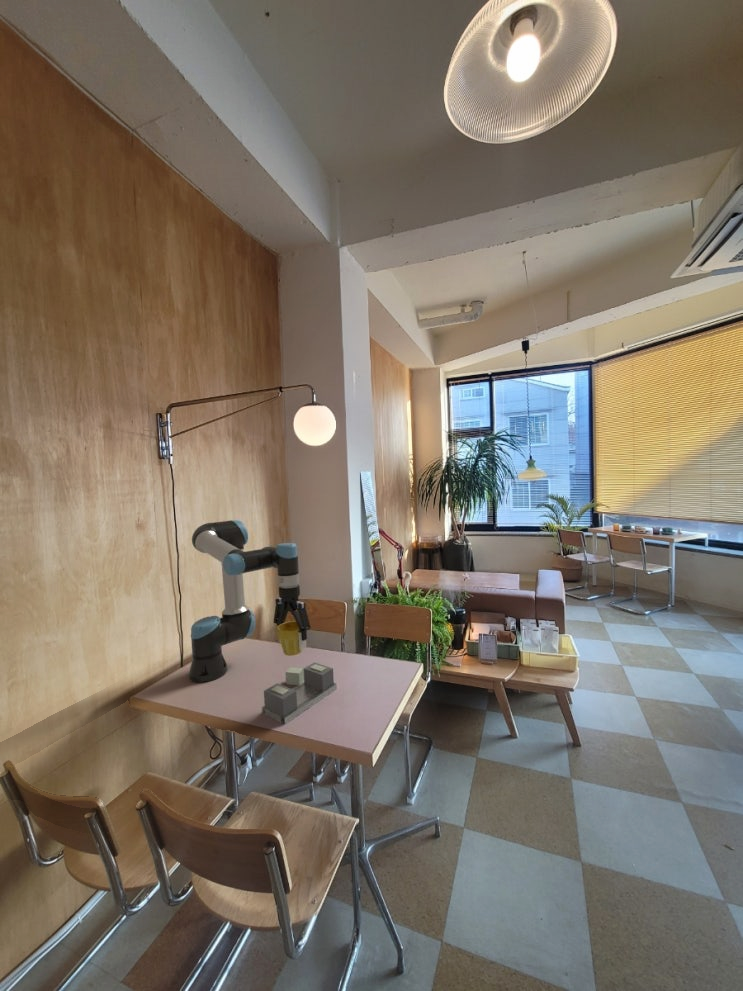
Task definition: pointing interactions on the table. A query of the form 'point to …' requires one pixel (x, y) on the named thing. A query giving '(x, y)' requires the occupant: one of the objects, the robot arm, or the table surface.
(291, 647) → the plant pot
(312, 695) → the rail
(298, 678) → the block
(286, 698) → the module near
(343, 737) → the table surface
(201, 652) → the robot arm
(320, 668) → the block
